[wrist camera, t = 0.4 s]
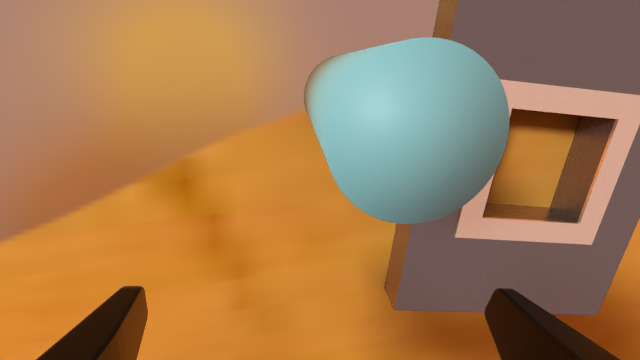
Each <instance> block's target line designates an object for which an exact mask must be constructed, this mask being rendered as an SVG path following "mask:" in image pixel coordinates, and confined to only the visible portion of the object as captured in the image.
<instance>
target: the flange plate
mask: <svg viewBox="0 0 640 360" xmlns="http://www.w3.org/2000/svg"><path fill="white" fill-rule="evenodd" d="M433 38H442V39H447V40H452V41H454V42H457V43H460V44H462V45H464V46H466V47H468V48H470V49H472V50H473V51H475V52H476V53H477V54H479V55H480V56H481V57H483V58H484V59H485V60H486V62H487V63H488V64H489V65H490V66H491V67H492V68H493V70H494V71H495V73H496V74H497V76H498V77H499V79H500V81H501V83H502V85H503V87H504V91H505V94H506V97H507V101H508V107H509V118H510V115H511V111H512V108H514V109H523V110H533V111H543V112H553V113H562V114H572V115H582V116H581V119H580V122H579V125H578V128H577V131H576V133H575V136H574V139H573V142H572V145H571V148H570V151H569V154H568V157H567V160H566V163H565V166H564V169H563V172H562V175H561V178H560V180H559V183H558V186H557V189H556V192H555V195H554V198H553V201H552V204H551V207H550V208H543V207H528V206H513V205H498V204H486V202H487V198H488V195H489V191H490V187H491V184H492V180H493V176H494V174H493V176H492V177H491V179H490V180H489V182H488V183H487V184H486V185H485V187H484V188H483V189H482V190H481V191H480V192H479V193H478V194H477V195H476V196H475V197H474V198H473V199H471V200H470V201H469V202H468V203H467V204H465V205H464V206H462V207H461V208H459V209H458V210H456V211H454V212H452V213H450V214H448V215H446V216H444V217H441V218H438V219H436V220H432V221H428V222H423V223H415V224H400V223H397V225H396V231H395V236H394V241H393V246H392V251H391V257H390V262H389V267H388V272H387V278H386V283H385V290H386V293H387V295H388V297H389V300H390V302H391V304H392V307H393V309H394V310H410V311H448V312H485V307H486V305H487V303H488V302H489V300H490V298H491V296H492V294H493V292H494V290H495V289H497V288H511V289H514V290H515V291H517V292H518V293H520V294H522V295H523V296H525V297H526V298H528V299H529V300H531V301H532V302H534V303H535V304H537V305H538V306H540V307H541V308H543V309H544V310H546V311H547V312H549V313H550V314H564V315H598V312H599V310H600V308H601V306H602V303H603V301H604V299H605V296H606V294H607V292H608V289H609V287H610V285H611V282H612V280H613V278H614V276H615V273H616V271H617V269H618V266H619V264H620V262H621V259H622V257H623V255H624V252H625V250H626V248H627V246H628V243H629V241H630V239H631V236H632V234H633V232H634V229H635V227H636V225H637V222H638V220H639V218H640V0H440V1H439V7H438V11H437V17H436V22H435V27H434V32H433Z"/></svg>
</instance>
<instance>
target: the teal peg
mask: <svg viewBox="0 0 640 360" xmlns="http://www.w3.org/2000/svg"><path fill="white" fill-rule="evenodd" d="M304 104H305V108H306V111H307V114H308V116H309V119H310V121H311V123H312V126H313V128H314V131H315V133H316V136H317V138H318V141H319V143H320V146H321V148H322V151H323V153H324V155H325V158H326V160H327V163H328V165H329V168H330V170H331V173H332V175H333V178H334V179H335V181H336V183H337V185H338V187H339V188H340V190H341V191H342V192H343V194H344V195H345V196H346V197H347V198H348V199H349V200H350V201H351V202H352V203H353V204H354V205H355V206H356V207H358V208H359V209H360V210H362V211H363V212H365V213H367V214H369V215H370V216H373V217H375V218H378V219H380V220H384V221H387V222H391V223H400V224H415V223H423V222H428V221H432V220H436V219H438V218H441V217H444V216H446V215H448V214H450V213H452V212H454V211H456V210H458V209H459V208H461V207H462V206H464V205H465V204H467V203H468V202H469V201H470V200H471V199H473V198H474V197H475V196H476V195H477V194H478V193H479V192H480V191H481V190H482V189H483V188H484V187H485V185H486V184H487V183H488V182H489V180H490V179H491V177H492V176H493V174H494V173H495V171H496V169H497V167H498V165H499V163H500V161H501V159H502V157H503V154H504V151H505V148H506V144H507V139H508V135H509V124H510V119H509V107H508V101H507V97H506V94H505V91H504V87H503V85H502V83H501V81H500V79H499V77H498V76H497V74H496V73H495V71H494V70H493V68H492V67H491V66H490V65H489V64H488V63H487V62H486V60H485V59H484V58H483V57H481V56H480V55H479V54H477V53H476V52H475V51H473V50H472V49H470V48H468V47H466V46H464V45H462V44H460V43H457V42H454V41H452V40H447V39H442V38H431V37H424V38H413V39H409V40H404V41H399V42H395V43H390V44H386V45H382V46H377V47H372V48H368V49H364V50H360V51H355V52H350V53H346V54H341V55H337V56H333V57H330V58H328V59H326V60H324V61H322V62H321V63H320V64H319V65H318V66H316V67H315V69H314V70H313V71H312V72H311V74H310V76H309V78H308V80H307V82H306V85H305V90H304Z"/></svg>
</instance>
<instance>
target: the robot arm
mask: <svg viewBox="0 0 640 360" xmlns="http://www.w3.org/2000/svg"><path fill="white" fill-rule="evenodd" d="M147 315H148V310H147V303H146V297H145V291H144V288H143V287H141V286H124V287H122V288H120V289H119V290H118V291H117V292H116V293H114V294H113V295H112V296H111V297H110V298H109V299H107V300H106V301H105V302H104V303H103V304H101V305H100V306H99V307H98V308H97V309H95V310H94V311H93V312H92V313H91V314H90V315H88V316H87V317H86V318H85V319H84V320H82V321H81V322H80V323H79V324H78V325H77V326H75V327H74V328H73V329H72V330H71V331H69V332H68V333H67V334H66V335H65V336H63V337H62V338H61V339H60V340H59V341H58V342H56V343H55V344H54V345H53V346H52V347H50V348H49V349H48V350H47V351H46V352H45V353H43V354H42V355H41V356H40V357H39V358H37V359H36V360H136V359H137V355H138V352H139V348H140V344H141V340H142V337H143V333H144V329H145V325H146V321H147ZM485 318H486V320H487V323H488V326H489V328H490V331H491V334H492V336H493V339H494V341H495V344H496V347H497V349H498V352H499V355H500V357H501V360H620V359H618V358H617V357H615V356H614V355H612V354H611V353H609V352H608V351H606V350H605V349H603V348H602V347H600V346H599V345H597V344H596V343H594V342H593V341H591V340H590V339H588V338H587V337H585V336H584V335H582V334H581V333H579V332H578V331H576V330H574V329H573V328H571V327H570V326H568V325H567V324H565V323H564V322H562V321H561V320H559V319H558V318H556V317H555V316H553V315H552V314H550V313H549V312H547V311H546V310H544V309H543V308H541V307H540V306H538V305H537V304H535V303H534V302H532V301H531V300H529V299H528V298H526V297H525V296H523V295H522V294H520V293H518V292H517V291H515V290H514V289H511V288H497V289H495V290H494V292H493V294H492V296H491V298H490V300H489V302H488V303H487V305H486V307H485Z"/></svg>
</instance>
